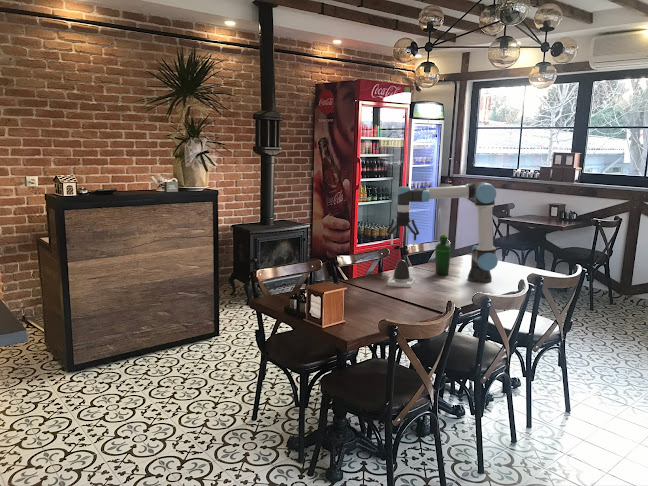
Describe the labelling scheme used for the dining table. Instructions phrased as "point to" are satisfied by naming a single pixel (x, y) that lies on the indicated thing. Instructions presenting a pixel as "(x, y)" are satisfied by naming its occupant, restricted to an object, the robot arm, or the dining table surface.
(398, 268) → the egg shaped speaker
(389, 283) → the tray
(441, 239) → the bottle
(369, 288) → the dining table surface
